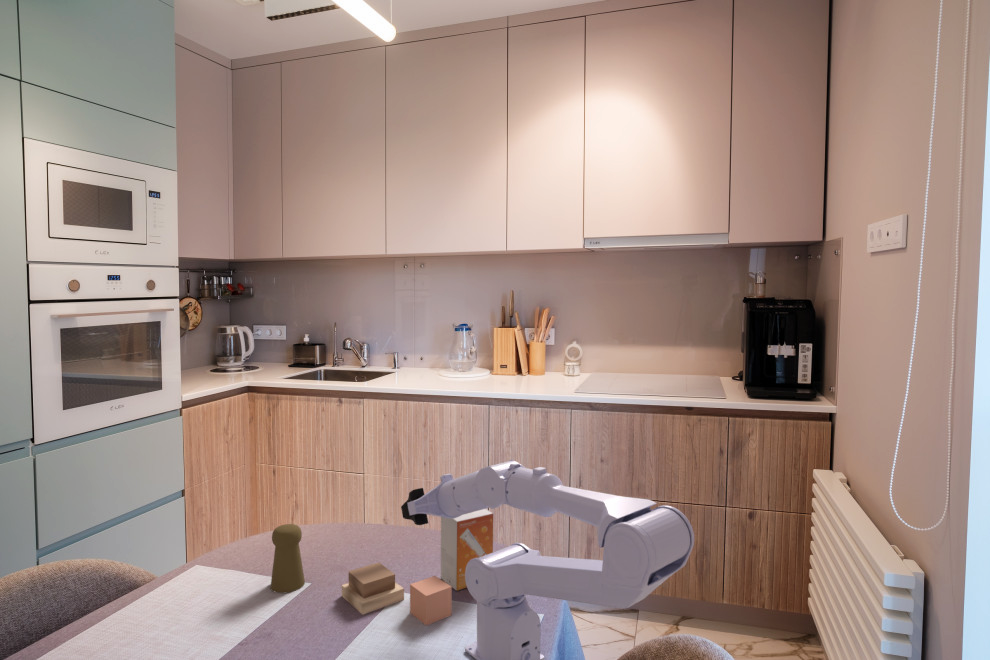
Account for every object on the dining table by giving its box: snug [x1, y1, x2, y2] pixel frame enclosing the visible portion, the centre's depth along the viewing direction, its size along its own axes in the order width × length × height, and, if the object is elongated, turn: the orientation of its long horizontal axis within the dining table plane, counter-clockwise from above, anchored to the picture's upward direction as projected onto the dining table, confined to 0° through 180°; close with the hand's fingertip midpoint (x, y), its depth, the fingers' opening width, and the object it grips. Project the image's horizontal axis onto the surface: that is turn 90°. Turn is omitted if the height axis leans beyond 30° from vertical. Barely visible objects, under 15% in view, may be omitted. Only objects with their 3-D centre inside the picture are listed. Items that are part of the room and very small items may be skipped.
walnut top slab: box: [348, 562, 396, 598], centre depth 106 cm, size 6×6×2 cm
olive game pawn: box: [269, 523, 306, 594], centre depth 110 cm, size 6×6×11 cm
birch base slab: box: [341, 581, 405, 615], centre depth 106 cm, size 8×8×2 cm
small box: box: [440, 508, 494, 592], centre depth 113 cm, size 8×6×13 cm
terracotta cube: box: [409, 575, 453, 626], centre depth 101 cm, size 5×5×5 cm
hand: (422, 507), depth 104 cm, fingers open, 7 cm apart
